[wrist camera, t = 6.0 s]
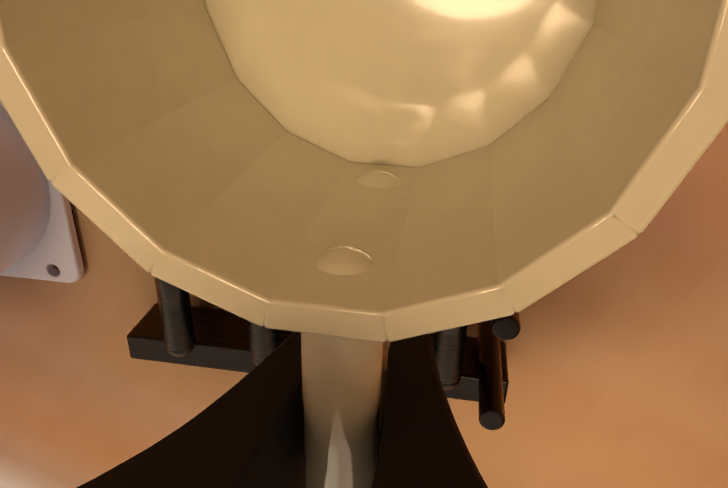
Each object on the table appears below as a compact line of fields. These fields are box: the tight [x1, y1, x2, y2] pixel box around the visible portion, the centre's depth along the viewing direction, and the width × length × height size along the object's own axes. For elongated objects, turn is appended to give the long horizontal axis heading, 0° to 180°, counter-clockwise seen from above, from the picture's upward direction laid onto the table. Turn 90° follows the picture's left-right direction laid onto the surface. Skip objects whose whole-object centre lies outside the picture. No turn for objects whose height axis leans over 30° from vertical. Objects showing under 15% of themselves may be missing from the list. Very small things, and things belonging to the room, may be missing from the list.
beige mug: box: [0, 0, 728, 488], centre depth 8 cm, size 11×7×6 cm, turn 178°
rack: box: [127, 277, 520, 430], centre depth 18 cm, size 13×10×5 cm
